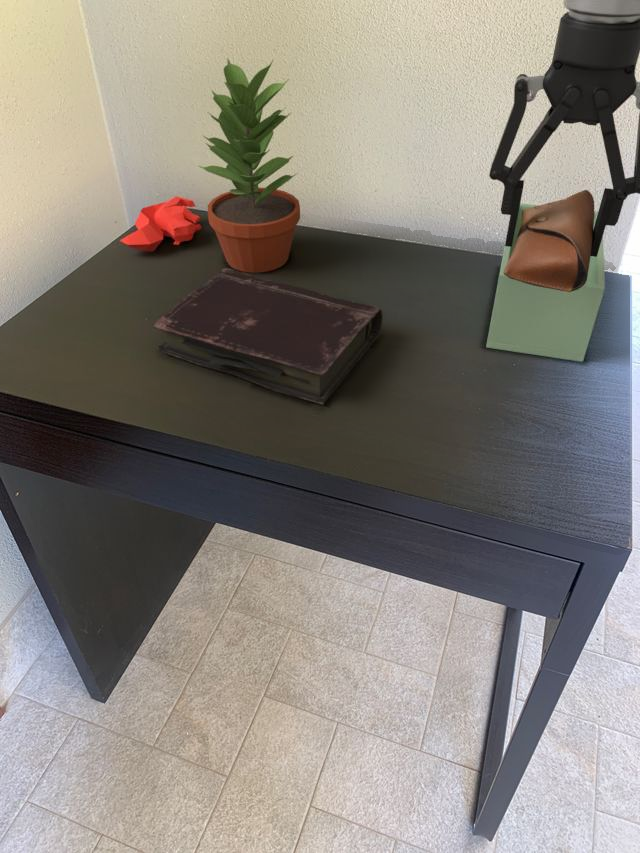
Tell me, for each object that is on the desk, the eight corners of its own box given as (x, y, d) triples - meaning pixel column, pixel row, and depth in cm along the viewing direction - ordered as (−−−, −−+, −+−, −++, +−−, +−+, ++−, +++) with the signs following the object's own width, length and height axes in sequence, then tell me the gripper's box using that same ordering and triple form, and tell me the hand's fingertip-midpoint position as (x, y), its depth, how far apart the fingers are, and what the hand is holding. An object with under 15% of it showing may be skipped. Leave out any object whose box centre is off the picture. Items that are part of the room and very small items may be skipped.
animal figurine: (113, 256, 113) (106, 227, 110) (156, 219, 124) (151, 191, 121) (175, 266, 111) (171, 237, 107) (214, 227, 121) (211, 199, 118)
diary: (230, 293, 104) (227, 263, 101) (381, 334, 95) (383, 302, 92) (154, 357, 92) (148, 325, 88) (320, 411, 83) (320, 377, 79)
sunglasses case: (518, 206, 84) (558, 163, 79) (563, 240, 85) (604, 199, 80) (500, 277, 71) (546, 229, 66) (552, 316, 72) (601, 272, 67)
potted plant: (216, 237, 118) (194, 42, 98) (303, 238, 118) (299, 43, 98) (201, 280, 107) (173, 70, 87) (298, 281, 106) (291, 71, 87)
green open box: (582, 362, 90) (605, 288, 83) (485, 347, 93) (499, 274, 85) (583, 279, 106) (601, 211, 99) (500, 269, 109) (512, 202, 102)
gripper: (726, 10, 62) (648, 242, 77) (489, 0, 66) (459, 221, 81) (740, 28, 57) (653, 273, 72) (481, 16, 61) (451, 249, 76)
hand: (550, 245), depth 76 cm, fingers closed on sunglasses case, 8 cm apart
